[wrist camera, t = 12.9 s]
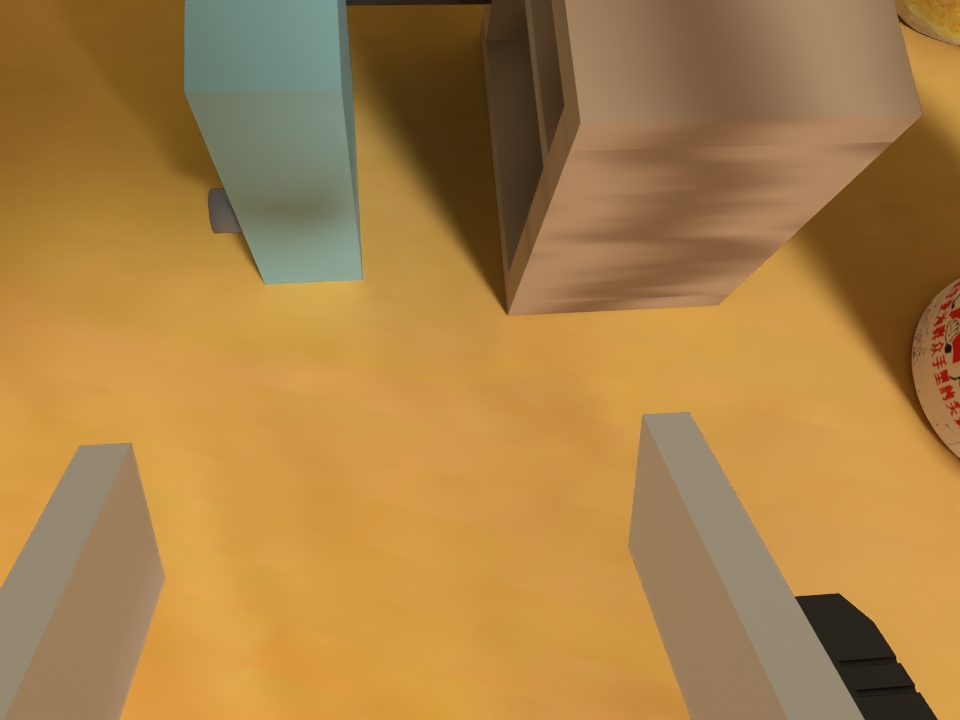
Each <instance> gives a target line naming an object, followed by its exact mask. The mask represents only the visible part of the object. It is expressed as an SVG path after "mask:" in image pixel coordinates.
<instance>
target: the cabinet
mask: <svg viewBox="0 0 960 720" xmlns="http://www.w3.org/2000/svg"><path fill="white" fill-rule="evenodd" d="M456 4H485V6H484V13H483V20H482V27H481V44H482V54H483V65H484V75H485V86H486V96H487V106H488V117H489V127H490V137H491V148H492V158H493V168H494V179H495V189H496V199H497V210H498V220H499V230H500V241H501V251H502V261H503V272H504V282H505V292H506V303H507V313H508V316H510V315H530V314H550V313H570V312H591V311H611V310H631V309H651V308H671V307H691V306H712V305H719V304H720V303H721V302H722V301H723V300H724V299H725V298H726V297H727V296H728V295H730V294H731V293H732V292H733V291H734V290H735V289H736V288H737V287H738V286H739V285H740V284H741V283H742V282H744V281H745V280H746V279H747V278H748V277H749V276H750V275H751V274H752V273H753V272H754V271H755V270H756V269H757V268H759V267H760V266H761V265H762V264H763V263H764V262H765V261H766V260H767V259H768V258H769V257H770V256H771V255H773V254H774V253H775V252H776V251H777V250H778V249H779V248H780V247H781V246H782V245H783V244H784V243H785V242H786V241H788V240H789V239H790V238H791V237H792V236H793V235H794V234H795V233H796V232H797V231H798V230H799V229H800V228H801V227H803V226H804V225H805V224H806V223H807V222H808V221H809V220H810V219H811V218H812V217H813V216H814V215H815V214H817V213H818V212H819V211H820V210H821V209H822V208H823V207H824V206H825V205H826V204H827V203H828V202H829V201H830V200H832V199H833V198H834V197H835V196H836V195H837V194H838V193H839V192H840V191H841V190H842V189H843V188H844V187H845V186H847V185H848V184H849V183H850V182H851V181H852V180H853V179H854V178H855V177H856V176H857V175H858V174H859V173H861V172H862V171H863V170H864V169H865V168H866V167H867V166H868V165H869V164H870V163H871V162H872V161H873V160H874V159H876V158H877V157H878V156H879V155H880V154H881V153H882V152H883V151H884V150H885V149H886V148H887V147H888V146H890V145H891V144H892V143H893V142H894V141H895V140H896V139H897V138H898V137H899V136H900V135H901V134H902V133H903V132H905V131H906V130H907V129H908V128H909V127H910V126H911V125H912V124H913V123H914V122H915V121H916V120H917V119H918V118H920V117H921V116H922V115H923V114H922V110H921V106H920V102H919V98H918V94H917V90H916V86H915V82H914V78H913V74H912V70H911V67H910V63H909V59H908V55H907V51H906V47H905V43H904V39H903V35H902V31H901V27H900V23H899V19H898V15H897V11H896V7H895V3H894V0H346V5H456Z"/></svg>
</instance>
